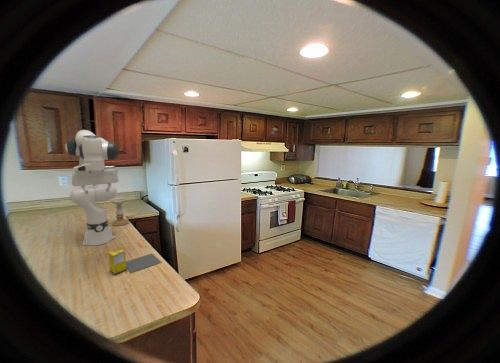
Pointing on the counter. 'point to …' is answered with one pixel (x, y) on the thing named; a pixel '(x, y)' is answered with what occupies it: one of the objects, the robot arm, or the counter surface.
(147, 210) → the counter surface
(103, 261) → the counter surface
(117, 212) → the candle holder
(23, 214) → the counter surface
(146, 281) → the counter surface
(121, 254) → the supplement box
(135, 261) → the mat
